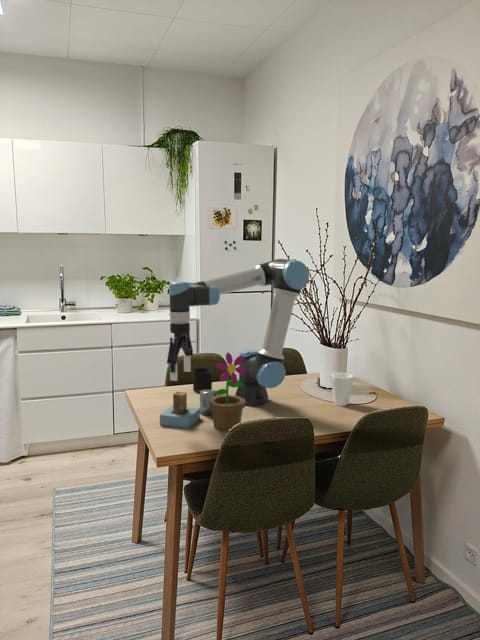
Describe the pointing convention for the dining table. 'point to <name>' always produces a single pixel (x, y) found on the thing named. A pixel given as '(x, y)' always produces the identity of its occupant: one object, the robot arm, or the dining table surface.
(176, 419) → the bore block
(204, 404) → the round peg
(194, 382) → the pen holder
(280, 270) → the robot arm
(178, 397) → the square peg
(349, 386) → the foam cup
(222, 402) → the flowerpot
